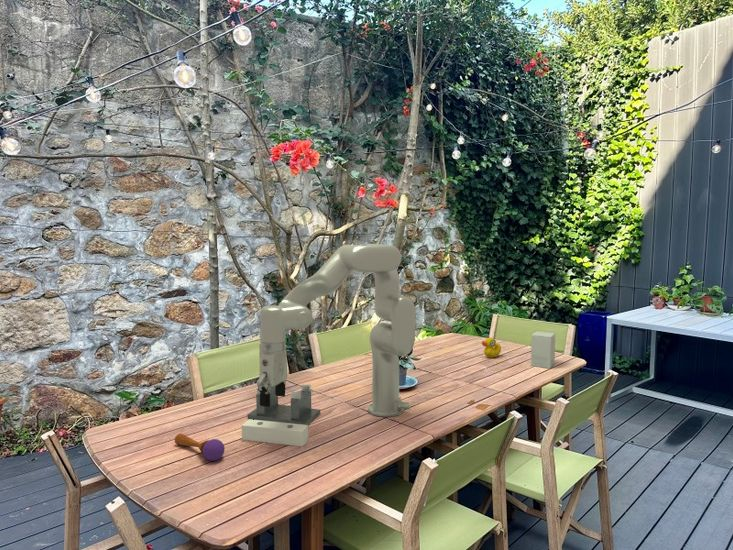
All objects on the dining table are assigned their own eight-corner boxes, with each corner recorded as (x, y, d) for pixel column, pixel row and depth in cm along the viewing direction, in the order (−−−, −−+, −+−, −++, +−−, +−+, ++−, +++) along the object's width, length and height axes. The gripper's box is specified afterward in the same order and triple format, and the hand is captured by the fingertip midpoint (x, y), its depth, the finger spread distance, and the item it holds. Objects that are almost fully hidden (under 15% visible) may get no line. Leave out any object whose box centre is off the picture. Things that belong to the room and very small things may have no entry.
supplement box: (554, 364, 245) (556, 332, 243) (550, 368, 237) (551, 336, 235) (535, 361, 250) (536, 330, 248) (530, 365, 242) (531, 334, 240)
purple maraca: (188, 427, 162) (229, 439, 150) (187, 447, 161) (227, 460, 149) (171, 430, 157) (212, 442, 145) (169, 450, 157) (210, 464, 145)
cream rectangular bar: (308, 440, 162) (308, 424, 162) (302, 447, 158) (302, 430, 157) (249, 434, 167) (248, 418, 166) (242, 440, 162) (241, 424, 162)
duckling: (485, 360, 251) (486, 340, 250) (478, 357, 256) (478, 337, 255) (503, 357, 257) (504, 337, 255) (495, 354, 261) (496, 335, 260)
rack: (320, 413, 183) (320, 384, 182) (306, 426, 172) (305, 396, 171) (264, 406, 190) (264, 378, 189) (247, 418, 179) (246, 389, 178)
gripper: (270, 354, 149) (270, 411, 151) (296, 341, 166) (296, 393, 168) (247, 351, 152) (247, 408, 154) (275, 339, 168) (275, 391, 170)
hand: (272, 400), depth 161 cm, fingers open, 9 cm apart
